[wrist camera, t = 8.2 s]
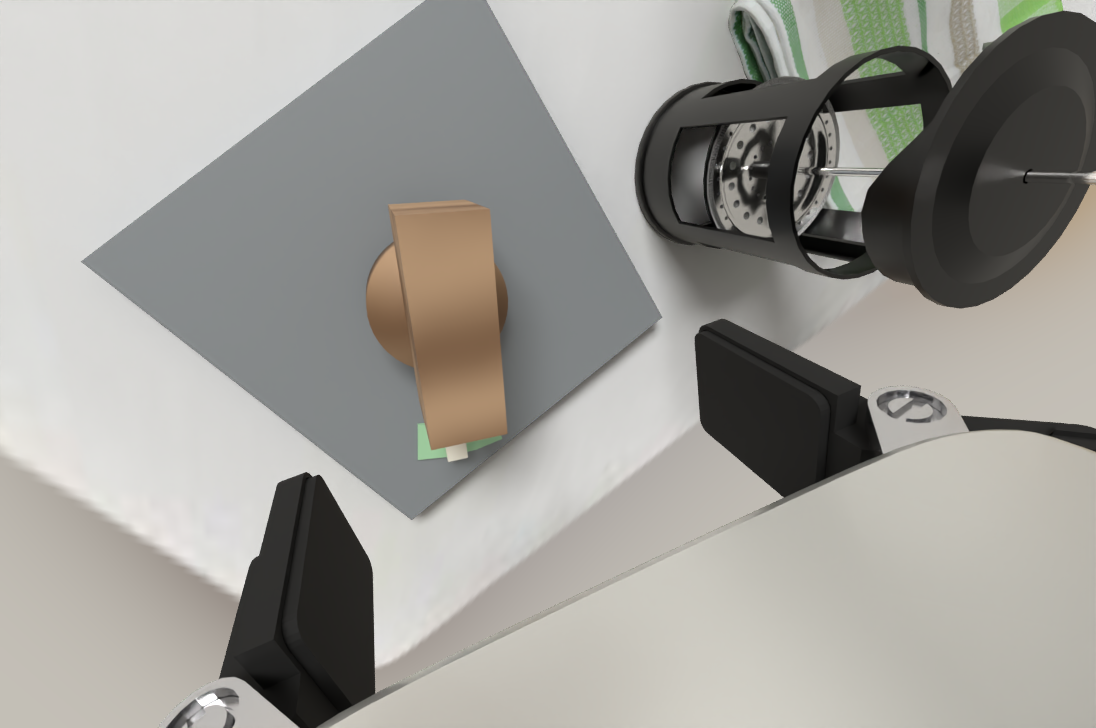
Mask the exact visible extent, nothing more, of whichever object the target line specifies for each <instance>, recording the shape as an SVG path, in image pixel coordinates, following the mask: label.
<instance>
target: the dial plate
mask: <svg viewBox="0 0 1096 728" xmlns="http://www.w3.org/2000/svg"><path fill="white" fill-rule="evenodd" d="M450 200H468V201H470V202H473V203H475V204H478V205H481V206H483V207H486V208H489V209H490V216H491V229H492V242H493V255H494V263H495V264H496V265H497V267H498V269H499V270H500V272H501V274H502V276H503V279H504V281H505V284H506V288H507V294H508V311H507V317H506V321H505V324H504V327H503V329H502V331H501V333H500V344H501V357H502V369H503V382H504V395H505V408H506V420H507V433H508V434H505V435H501V436H496V437H491V438H487V439H482V440H477V441H473V442H468V443H466V446H467V454H468V458H464V459H460V460H456V461H451V462H448V459H447V455H446V448H440V449H436V450H431V447H430V443H429V439H428V435H427V431H426V427H425V423H424V419H423V415H422V410H421V406H420V402H419V397H418V390H417V384H416V378H415V372H414V367H411V366H409V365H406V364H404V363H402V362H400V361H399V360H397V359H396V358H394V357H393V356H392V355H390V354H389V353H388V352H387V351H386V350H385V349H384V348H383V347H382V346H381V344H380V343H379V342H378V340H377V339H376V337H375V335H374V334H373V332H372V329H371V327H370V324H369V320H368V317H367V309H366V285H367V279H368V276H369V273H370V270H371V268H372V266H373V264H374V262H375V260H376V259H377V258H378V256H379V255H380V254H381V253H382V251H383V250H384V249H385V248H386V247H387V246H389V245H390V244H391V243H392V242H394V240H393V234H392V228H391V222H390V215H389V209H388V204H403V203H419V202H435V201H450ZM81 262H82V263H83V264H85V265H86V266H87V267H88V268H90V269H91V270H92V271H94V272H95V273H96V274H97V275H99V276H100V277H101V278H103V279H104V280H105V281H106V282H108V283H109V284H110V285H112V286H113V287H114V288H115V289H117V290H118V291H119V292H120V293H122V294H123V295H124V296H126V297H127V298H128V299H129V300H131V301H132V302H133V303H135V304H136V305H137V306H138V307H140V308H141V309H142V310H143V311H145V312H146V313H147V314H149V315H150V316H151V317H152V318H154V319H155V320H156V321H158V322H159V323H160V324H161V325H163V326H164V327H165V328H167V329H168V330H169V331H170V332H172V333H173V334H174V335H175V336H177V337H178V338H179V339H181V340H182V341H183V342H184V343H186V344H187V345H188V346H190V347H191V348H192V349H193V350H195V351H196V352H197V353H198V354H200V355H201V356H202V357H204V358H205V359H206V360H207V361H209V362H210V363H211V364H213V365H214V366H215V367H216V368H218V369H219V370H220V371H222V372H223V373H224V374H225V375H227V376H228V377H229V378H230V379H232V380H233V381H234V382H236V383H237V384H238V385H239V386H241V387H242V388H243V389H245V390H246V391H247V392H248V393H250V394H251V395H252V396H253V397H255V398H256V399H257V400H259V401H260V402H261V403H262V404H264V405H265V406H266V407H268V408H269V409H270V410H271V411H273V412H274V413H275V414H277V415H278V416H279V417H280V418H282V419H283V420H284V421H285V422H287V423H288V424H289V425H291V426H292V427H293V428H294V429H296V430H297V431H298V432H300V433H301V434H302V435H303V436H305V437H306V438H307V439H309V440H310V441H311V442H312V443H314V444H315V445H316V446H317V447H319V448H320V449H321V450H323V451H324V452H325V453H326V454H328V455H329V456H330V457H332V458H333V459H334V460H335V461H337V462H338V463H339V464H340V465H342V466H343V467H344V468H346V469H347V470H348V471H349V472H351V473H352V474H353V475H355V476H356V477H357V478H358V479H360V480H361V481H362V482H364V483H365V484H366V485H367V486H369V487H370V488H371V489H372V490H374V491H375V492H376V493H378V494H379V495H380V496H381V497H383V498H384V499H385V500H387V501H388V502H389V503H390V504H392V505H393V506H394V507H395V508H397V509H398V510H399V511H401V512H402V513H403V514H404V515H406V516H407V517H408V518H410V519H411V520H412V519H414V518H415V517H416V516H417V515H419V514H420V513H421V512H422V511H424V510H425V509H426V508H427V507H428V506H430V505H431V504H432V503H433V502H435V501H436V500H437V499H438V498H440V497H441V496H442V495H443V494H445V493H446V492H447V491H448V490H449V489H451V488H452V487H453V486H454V485H456V484H457V483H458V482H459V481H461V480H462V479H463V478H464V477H466V476H467V475H468V474H469V473H470V472H472V471H473V470H474V469H475V468H477V467H478V466H479V465H480V464H482V463H483V462H484V461H485V460H487V459H488V458H489V457H490V456H491V455H493V454H494V453H495V452H496V451H498V450H499V449H500V448H501V447H503V446H504V445H505V444H506V443H508V442H509V441H510V440H511V439H512V438H514V437H515V436H516V435H517V434H519V433H520V432H521V431H522V430H524V429H525V428H526V427H527V426H529V425H530V424H531V423H532V422H533V421H535V420H536V419H537V418H538V417H540V416H541V415H542V414H543V413H545V412H546V411H547V410H548V409H550V408H551V407H552V406H553V405H554V404H556V403H557V402H558V401H559V400H561V399H562V398H563V397H564V396H566V395H567V394H568V393H569V392H571V391H572V390H573V389H574V388H576V387H577V386H578V385H579V384H580V383H582V382H583V381H584V380H585V379H587V378H588V377H589V376H590V375H592V374H593V373H594V372H595V371H597V370H598V369H599V368H600V367H601V366H603V365H604V364H605V363H606V362H608V361H609V360H610V359H611V358H613V357H614V356H615V355H616V354H618V353H619V352H620V351H621V350H622V349H624V348H625V347H626V346H627V345H629V344H630V343H631V342H632V341H634V340H635V339H636V338H637V337H639V336H640V335H641V334H642V333H643V332H645V331H646V330H647V329H648V328H650V327H651V326H652V325H653V324H655V323H656V322H657V321H658V320H660V319H661V318H662V316H661V314H660V312H659V310H658V309H657V307H656V305H655V303H654V301H653V300H652V298H651V296H650V294H649V292H648V291H647V289H646V287H645V285H644V283H643V282H642V280H641V278H640V276H639V274H638V273H637V271H636V269H635V267H634V265H633V264H632V262H631V260H630V258H629V256H628V255H627V253H626V251H625V249H624V247H623V246H622V244H621V242H620V240H619V238H618V237H617V235H616V233H615V231H614V229H613V228H612V226H611V224H610V222H609V220H608V219H607V217H606V215H605V213H604V211H603V210H602V208H601V206H600V204H599V202H598V201H597V199H596V197H595V195H594V193H593V192H592V190H591V188H590V186H589V184H588V183H587V181H586V179H585V177H584V175H583V174H582V172H581V170H580V168H579V167H578V165H577V163H576V161H575V159H574V158H573V156H572V154H571V152H570V150H569V149H568V147H567V145H566V143H565V141H564V140H563V138H562V136H561V134H560V132H559V131H558V129H557V127H556V125H555V123H554V122H553V120H552V118H551V116H550V114H549V113H548V111H547V109H546V107H545V105H544V104H543V102H542V100H541V98H540V96H539V95H538V93H537V91H536V89H535V87H534V86H533V84H532V82H531V80H530V78H529V77H528V75H527V73H526V71H525V69H524V68H523V66H522V64H521V62H520V60H519V59H518V57H517V55H516V53H515V51H514V50H513V48H512V46H511V44H510V42H509V41H508V39H507V37H506V35H505V33H504V32H503V30H502V28H501V26H500V24H499V23H498V21H497V19H496V17H495V15H494V14H493V12H492V10H491V8H490V6H489V5H488V3H487V1H486V0H425V1H424V2H423V3H421V4H420V5H419V6H417V7H416V8H415V9H413V10H412V11H411V12H409V13H408V14H407V15H406V16H404V17H403V18H402V19H400V20H399V21H398V22H396V23H395V24H394V25H392V26H391V27H390V28H388V29H387V30H386V31H384V32H383V33H382V34H380V35H379V36H378V37H376V38H375V39H374V40H373V41H371V42H370V43H369V44H367V45H366V46H365V47H363V48H362V49H361V50H359V51H358V52H357V53H355V54H354V55H353V56H351V57H350V58H349V59H347V60H346V61H345V62H344V63H342V64H341V65H340V66H338V67H337V68H336V69H334V70H333V71H332V72H330V73H329V74H328V75H326V76H325V77H324V78H322V79H321V80H320V81H318V82H317V83H316V84H314V85H313V86H312V87H311V88H309V89H308V90H307V91H305V92H304V93H303V94H301V95H300V96H299V97H297V98H296V99H295V100H293V101H292V102H291V103H289V104H288V105H287V106H285V107H284V108H283V109H282V110H280V111H279V112H278V113H276V114H275V115H274V116H272V117H271V118H270V119H268V120H267V121H266V122H264V123H263V124H262V125H260V126H259V127H258V128H256V129H255V130H254V131H253V132H251V133H250V134H249V135H247V136H246V137H245V138H243V139H242V140H241V141H239V142H238V143H237V144H235V145H234V146H233V147H231V148H230V149H229V150H227V151H226V152H225V153H223V154H222V155H221V156H220V157H218V158H217V159H216V160H214V161H213V162H212V163H210V164H209V165H208V166H206V167H205V168H204V169H202V170H201V171H200V172H198V173H197V174H196V175H194V176H193V177H192V178H191V179H189V180H188V181H187V182H185V183H184V184H183V185H181V186H180V187H179V188H177V189H176V190H175V191H173V192H172V193H171V194H169V195H168V196H167V197H165V198H164V199H163V200H162V201H160V202H159V203H158V204H156V205H155V206H154V207H152V208H151V209H150V210H148V211H147V212H146V213H144V214H143V215H142V216H140V217H139V218H138V219H136V220H135V221H134V222H132V223H131V224H130V225H129V226H127V227H126V228H125V229H123V230H122V231H121V232H119V233H118V234H117V235H115V236H114V237H113V238H111V239H110V240H109V241H107V242H106V243H105V244H103V245H102V246H101V247H100V248H98V249H97V250H96V251H94V252H93V253H92V254H90V255H89V256H88V257H86V258H85V259H84V260H82V261H81Z"/></svg>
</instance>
